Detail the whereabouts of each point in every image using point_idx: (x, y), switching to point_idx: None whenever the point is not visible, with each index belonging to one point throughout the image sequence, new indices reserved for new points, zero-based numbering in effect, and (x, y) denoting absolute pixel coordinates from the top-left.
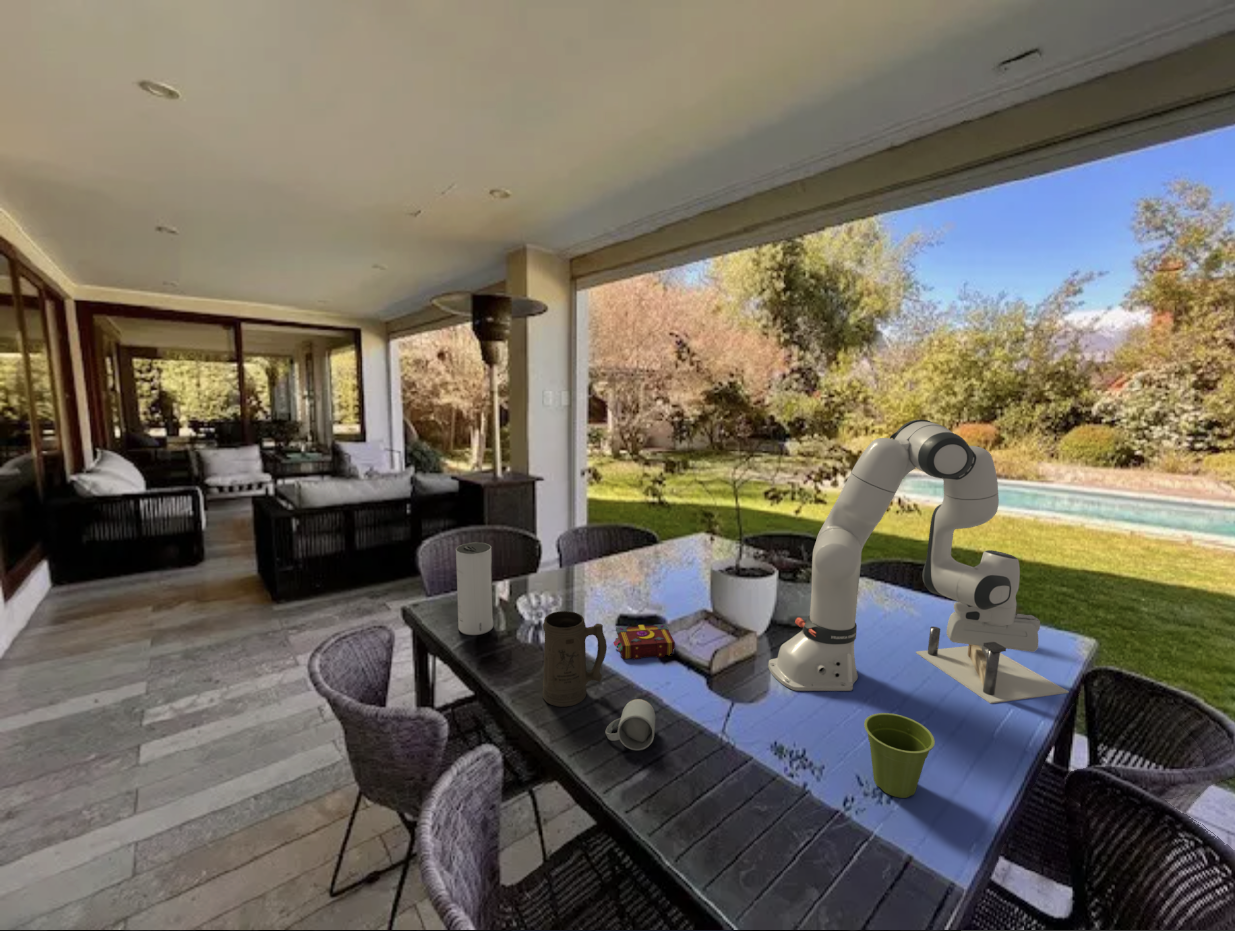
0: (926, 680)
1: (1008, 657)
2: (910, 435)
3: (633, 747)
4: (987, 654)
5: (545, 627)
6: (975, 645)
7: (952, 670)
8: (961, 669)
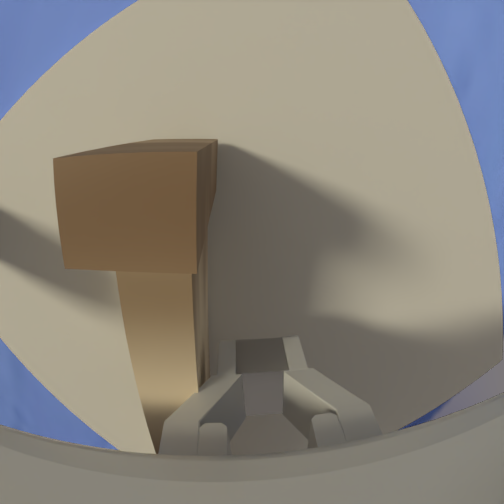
0: (21, 428)
1: (450, 84)
2: None
3: None
4: (238, 428)
5: None
6: (145, 326)
7: (68, 377)
8: (103, 361)
